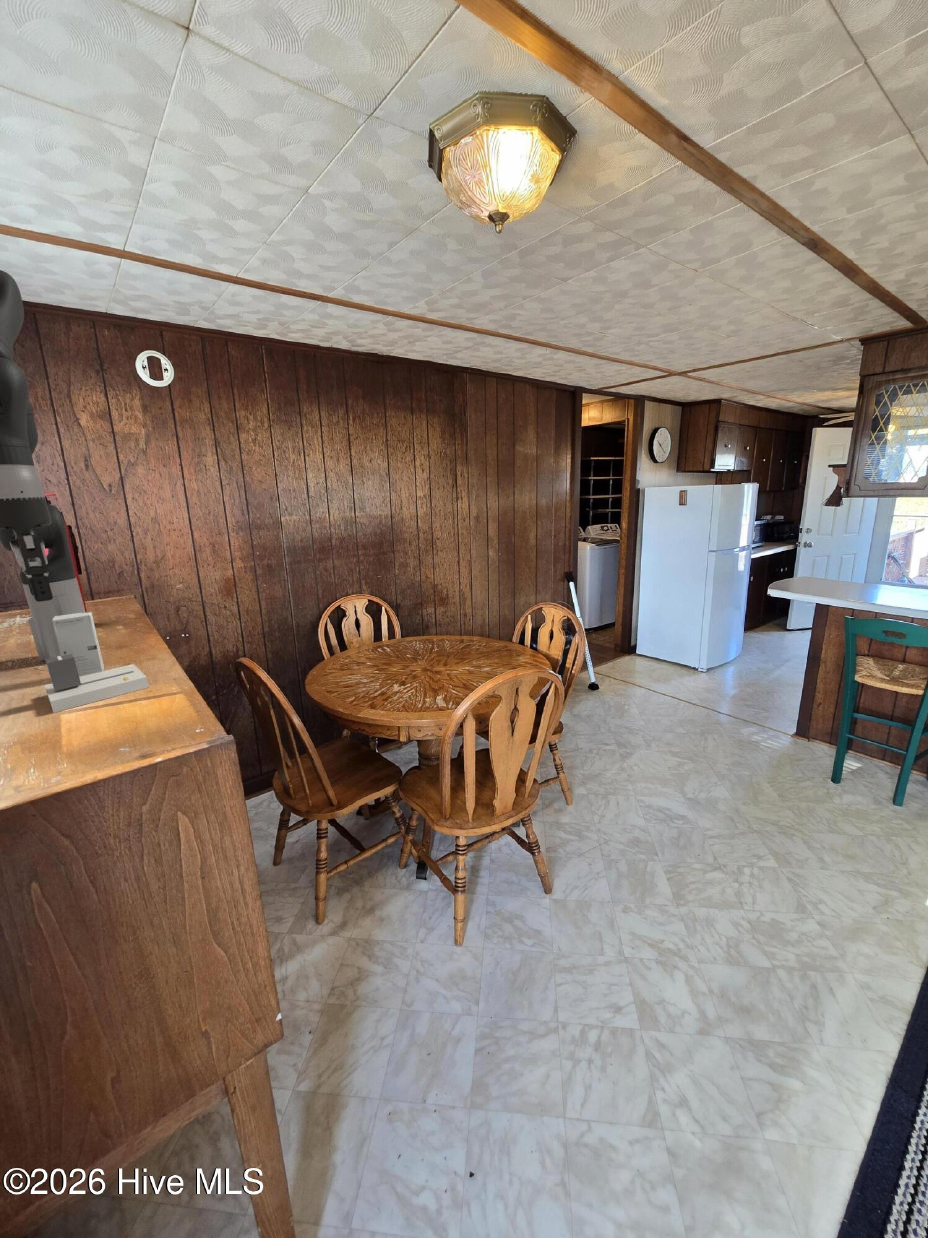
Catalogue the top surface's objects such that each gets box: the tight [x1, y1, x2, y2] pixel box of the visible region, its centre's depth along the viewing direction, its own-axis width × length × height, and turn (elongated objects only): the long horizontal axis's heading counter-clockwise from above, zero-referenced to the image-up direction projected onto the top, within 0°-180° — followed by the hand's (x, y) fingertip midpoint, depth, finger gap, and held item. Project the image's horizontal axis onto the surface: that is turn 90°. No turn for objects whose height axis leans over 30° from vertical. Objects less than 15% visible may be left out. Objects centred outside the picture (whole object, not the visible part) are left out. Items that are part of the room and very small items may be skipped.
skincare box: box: [52, 611, 105, 677], centre depth 97 cm, size 6×4×12 cm
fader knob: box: [44, 654, 81, 691], centre depth 85 cm, size 4×3×5 cm
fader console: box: [44, 663, 150, 714], centre depth 88 cm, size 14×11×2 cm
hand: (42, 597), depth 81 cm, fingers open, 8 cm apart
